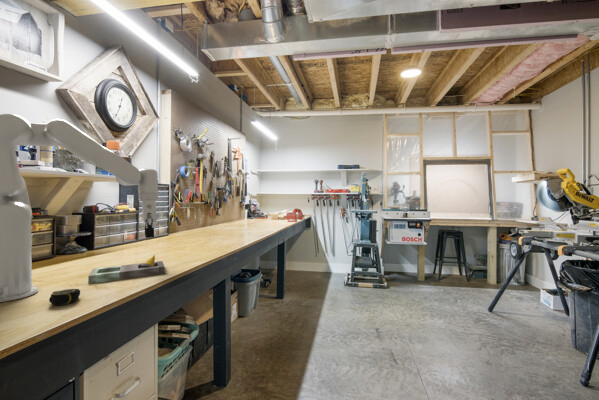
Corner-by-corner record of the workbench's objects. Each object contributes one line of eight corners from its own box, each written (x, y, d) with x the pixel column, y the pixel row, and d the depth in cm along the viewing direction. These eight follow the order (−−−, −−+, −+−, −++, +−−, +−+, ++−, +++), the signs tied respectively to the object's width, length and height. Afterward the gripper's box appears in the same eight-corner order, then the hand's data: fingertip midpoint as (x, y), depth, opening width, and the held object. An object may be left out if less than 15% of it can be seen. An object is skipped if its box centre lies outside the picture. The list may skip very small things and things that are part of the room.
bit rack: (162, 267, 124) (162, 260, 124) (164, 273, 114) (164, 266, 114) (92, 275, 111) (92, 268, 111) (88, 283, 100) (88, 275, 100)
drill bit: (136, 275, 113) (147, 255, 121) (149, 279, 115) (159, 259, 122) (138, 269, 110) (149, 250, 117) (151, 273, 112) (162, 254, 119)
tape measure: (80, 297, 87) (80, 286, 87) (76, 304, 81) (76, 292, 81) (53, 301, 83) (53, 290, 83) (46, 309, 78) (46, 296, 78)
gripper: (159, 197, 111) (160, 237, 111) (156, 197, 125) (157, 232, 126) (138, 197, 107) (139, 239, 107) (138, 197, 121) (139, 234, 122)
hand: (149, 235), depth 116 cm, fingers open, 9 cm apart
